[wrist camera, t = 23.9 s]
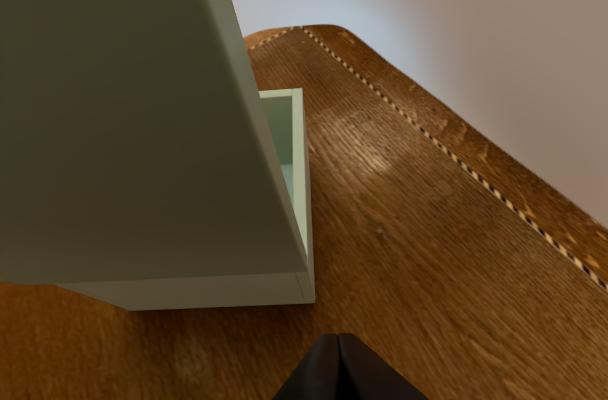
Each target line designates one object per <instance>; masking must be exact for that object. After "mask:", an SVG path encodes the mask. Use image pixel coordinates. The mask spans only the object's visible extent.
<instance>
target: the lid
mask: <svg viewBox="0 0 608 400" xmlns="http://www.w3.org/2000/svg"><path fill="white" fill-rule="evenodd" d="M307 270H308V263H307V254H306V250H305V247H304V244H303V240H302V237H301V233H300V230H299V227H298V223H297V220H296V217H295V213H294V210H293V206H292V203H291V200H290V196H289V193H288V189H287V186H286V183H285V179H284V176H283V172H282V169H281V166H280V162H279V159H278V156H277V152H276V149H275V145H274V142H273V139H272V135H271V132H270V128H269V125H268V122H267V118H266V115H265V111H264V108H263V105H262V101H261V98H260V95H259V91H258V88H257V84H256V81H255V78H254V74H253V71H252V67H251V64H250V61H249V57H248V54H247V51H246V47H245V44H244V40H243V37H242V34H241V30H240V27H239V24H238V20H237V17H236V13H235V10H234V6H233V3H232V0H0V282H5V283H13V284H21V285H41V284H62V283H83V282H104V281H125V280H146V279H167V278H188V277H209V276H230V275H251V274H272V273H293V272H307Z"/></svg>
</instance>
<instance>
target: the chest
mask: <svg viewBox="0 0 608 400" xmlns="http://www.w3.org/2000/svg"><path fill="white" fill-rule="evenodd" d="M259 95H260V98H261V101H262V105H263V108H264V111H265V115H266V118H267V122H268V125H269V128H270V132H271V135H272V139H273V142H274V145H275V149H276V152H277V156H278V159H279V162H280V166H281V169H282V172H283V176H284V179H285V183H286V186H287V189H288V193H289V196H290V200H291V203H292V206H293V210H294V213H295V217H296V220H297V223H298V227H299V230H300V233H301V237H302V240H303V244H304V247H305V250H306V254H307V263H308V270H307V272H293V273H272V274H251V275H230V276H209V277H188V278H167V279H146V280H125V281H104V282H83V283H62V284H53V285H56V286H59V287H62V288H65V289H68V290H71V291H74V292H77V293H80V294H83V295H86V296H89V297H92V298H95V299H98V300H101V301H104V302H107V303H109V304H112V305H115V306H118V307H121V308H124V309H127V310H130V311H138V310H162V309H185V308H209V307H232V306H256V305H280V304H303V303H315V282H314V259H313V236H312V213H311V189H310V166H309V154H308V143H307V133H306V122H305V112H304V102H303V91H302V88H296V89H283V90H271V91H259Z"/></svg>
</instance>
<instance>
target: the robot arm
mask: <svg viewBox="0 0 608 400" xmlns="http://www.w3.org/2000/svg"><path fill="white" fill-rule="evenodd" d="M272 400H429V399H428V398H427V397H426V396H425V395H423V394H422V393H421V392H420V391H419V390H418V389H416V388H415V387H414V386H413V385H412V384H411V383H409V382H408V381H407V380H406V379H405V378H404V377H403V376H401V375H400V374H399V373H398V372H397V371H396V370H394V369H393V368H392V367H391V366H390V365H389V364H387V363H386V362H385V361H384V360H383V359H382V358H381V357H379V356H378V355H377V354H376V353H375V352H374V351H372V350H371V349H370V348H369V347H368V346H367V345H365V344H364V343H363V342H362V341H361V340H360V339H359V338H357V337H356V336H355V335H354V334H352V333H340V334H338V335H336V334H322V335H321V336H320V337H319V338H318V339H317V341H316V342H315V343H314V345H313V346H312V347H311V349H310V350H309V351H308V353H307V354H306V355H305V357H304V358H303V359H302V361H301V362H300V363H299V364H298V366H297V367H296V368H295V370H294V371H293V372H292V374H291V375H290V376H289V378H288V379H287V380H286V382H285V383H284V384H283V385H282V387H281V388H280V389H279V391H278V392H277V393H276V395H275V396H274V397H273V399H272Z"/></svg>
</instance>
